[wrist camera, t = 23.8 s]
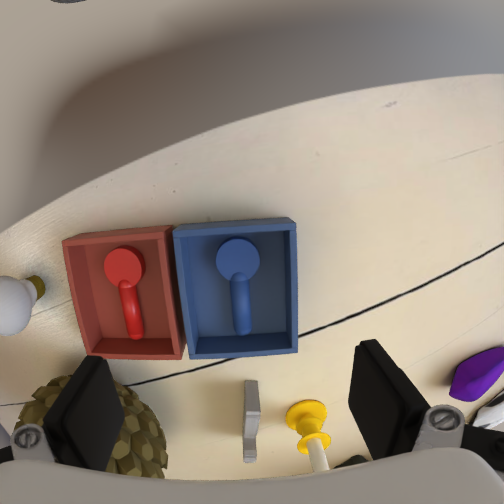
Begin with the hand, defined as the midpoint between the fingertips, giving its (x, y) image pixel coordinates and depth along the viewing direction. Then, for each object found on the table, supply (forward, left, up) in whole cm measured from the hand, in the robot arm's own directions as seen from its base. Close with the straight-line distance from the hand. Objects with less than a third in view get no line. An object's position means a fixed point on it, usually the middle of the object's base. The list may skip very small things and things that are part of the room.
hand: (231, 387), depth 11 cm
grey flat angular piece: (+19, 0, -20) cm, 28 cm away
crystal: (+19, +34, -20) cm, 44 cm away
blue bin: (+3, 0, -20) cm, 20 cm away
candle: (+21, +7, -20) cm, 30 cm away
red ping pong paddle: (+3, -11, -20) cm, 23 cm away
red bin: (+3, -11, -20) cm, 23 cm away
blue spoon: (+3, 0, -20) cm, 20 cm away
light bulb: (+2, -23, -20) cm, 31 cm away
